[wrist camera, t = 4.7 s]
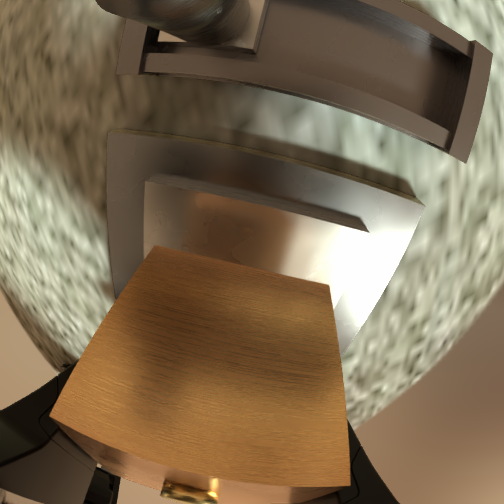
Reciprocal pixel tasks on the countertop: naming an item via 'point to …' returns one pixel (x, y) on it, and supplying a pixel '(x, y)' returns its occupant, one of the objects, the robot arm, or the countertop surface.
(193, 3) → the lever
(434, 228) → the countertop surface
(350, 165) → the countertop surface
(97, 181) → the countertop surface
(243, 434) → the block
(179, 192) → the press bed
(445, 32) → the lever track
